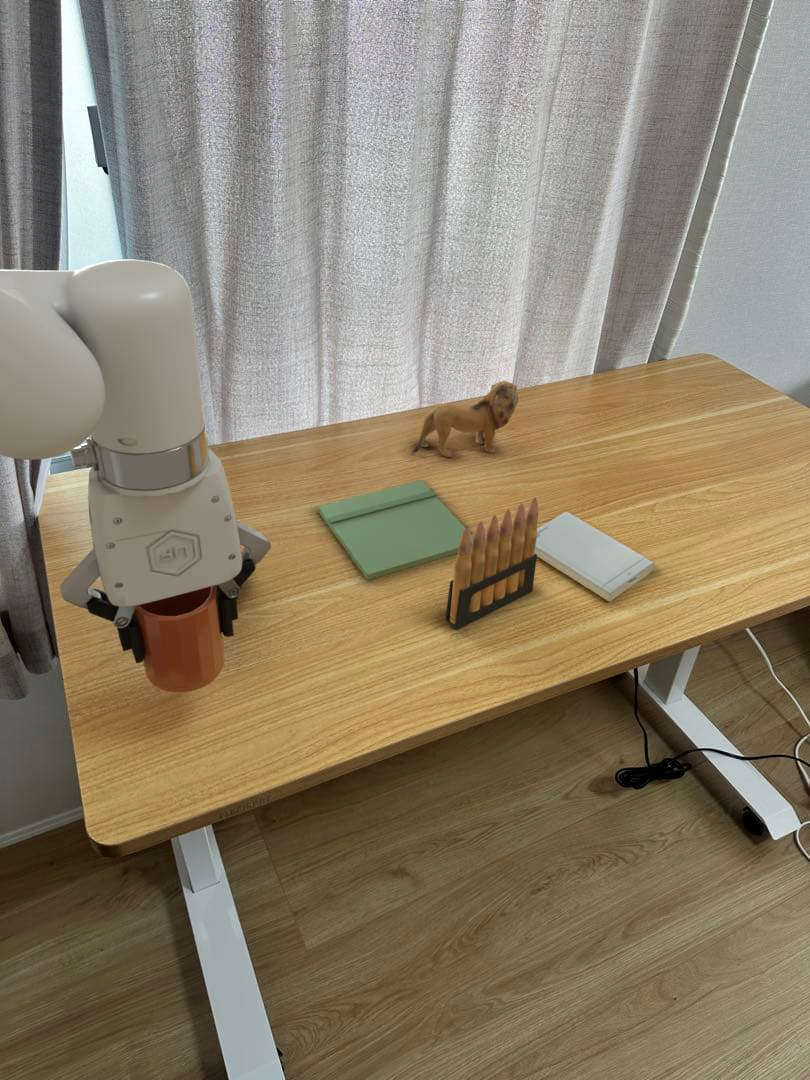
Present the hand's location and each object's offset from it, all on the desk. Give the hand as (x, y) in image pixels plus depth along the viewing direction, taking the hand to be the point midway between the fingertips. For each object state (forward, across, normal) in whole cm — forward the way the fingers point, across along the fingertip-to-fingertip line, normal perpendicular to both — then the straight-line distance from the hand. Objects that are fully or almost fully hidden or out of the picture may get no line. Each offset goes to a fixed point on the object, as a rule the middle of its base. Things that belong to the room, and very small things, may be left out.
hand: (181, 637), depth 66 cm
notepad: (+9, +29, +17) cm, 35 cm away
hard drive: (+9, +46, +3) cm, 47 cm away
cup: (+3, 0, 0) cm, 3 cm away
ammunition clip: (+9, +32, +1) cm, 33 cm away
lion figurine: (+8, +46, +30) cm, 55 cm away
